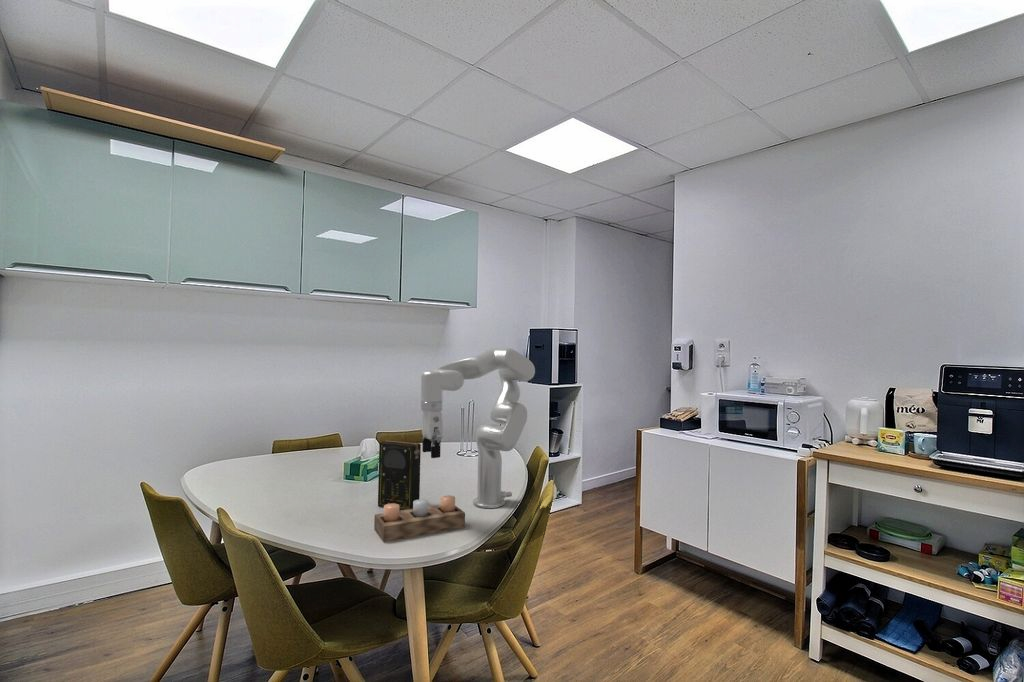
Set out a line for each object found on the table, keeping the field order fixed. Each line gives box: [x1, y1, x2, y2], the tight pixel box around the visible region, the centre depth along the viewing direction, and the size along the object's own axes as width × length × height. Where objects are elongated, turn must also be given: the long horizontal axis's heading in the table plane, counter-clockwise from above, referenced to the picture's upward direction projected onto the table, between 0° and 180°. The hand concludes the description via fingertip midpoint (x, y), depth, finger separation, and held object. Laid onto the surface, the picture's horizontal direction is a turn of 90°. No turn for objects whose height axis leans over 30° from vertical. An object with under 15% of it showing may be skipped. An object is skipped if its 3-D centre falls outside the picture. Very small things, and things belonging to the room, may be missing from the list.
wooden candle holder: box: [373, 504, 466, 543], centre depth 162 cm, size 28×12×5 cm, turn 120°
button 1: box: [383, 503, 400, 523], centre depth 157 cm, size 5×5×5 cm
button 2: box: [440, 494, 456, 513], centre depth 167 cm, size 5×5×5 cm
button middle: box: [413, 498, 429, 518], centre depth 162 cm, size 5×5×5 cm
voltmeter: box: [377, 439, 422, 511], centre depth 184 cm, size 16×9×25 cm, turn 70°
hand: (431, 454), depth 167 cm, fingers open, 9 cm apart
